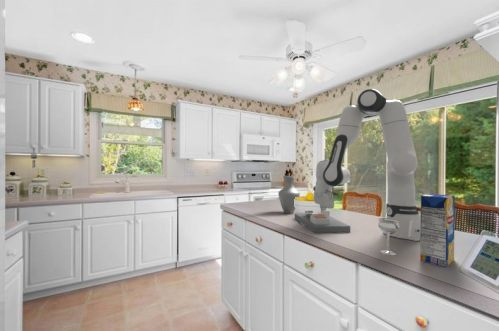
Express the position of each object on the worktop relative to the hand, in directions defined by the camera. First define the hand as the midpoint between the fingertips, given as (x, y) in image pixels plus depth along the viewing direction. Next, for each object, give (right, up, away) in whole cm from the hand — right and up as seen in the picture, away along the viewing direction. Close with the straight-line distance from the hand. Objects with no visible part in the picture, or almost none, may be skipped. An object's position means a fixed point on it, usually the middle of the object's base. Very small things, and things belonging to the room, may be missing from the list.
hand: (323, 213), depth 133 cm
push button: (-6, 0, -13) cm, 14 cm away
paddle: (0, -2, -3) cm, 3 cm away
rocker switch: (-7, 0, +3) cm, 8 cm away
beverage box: (+23, -5, -52) cm, 57 cm away
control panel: (-3, -5, -4) cm, 7 cm away
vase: (-15, -5, +29) cm, 33 cm away
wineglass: (+10, -5, -46) cm, 47 cm away
